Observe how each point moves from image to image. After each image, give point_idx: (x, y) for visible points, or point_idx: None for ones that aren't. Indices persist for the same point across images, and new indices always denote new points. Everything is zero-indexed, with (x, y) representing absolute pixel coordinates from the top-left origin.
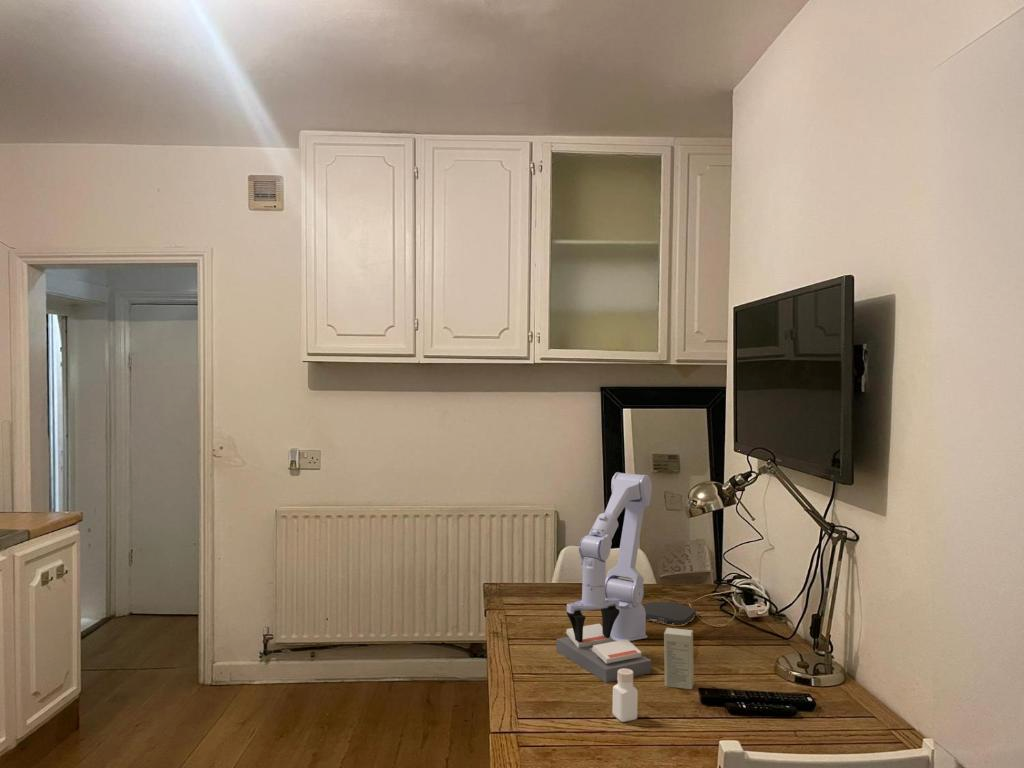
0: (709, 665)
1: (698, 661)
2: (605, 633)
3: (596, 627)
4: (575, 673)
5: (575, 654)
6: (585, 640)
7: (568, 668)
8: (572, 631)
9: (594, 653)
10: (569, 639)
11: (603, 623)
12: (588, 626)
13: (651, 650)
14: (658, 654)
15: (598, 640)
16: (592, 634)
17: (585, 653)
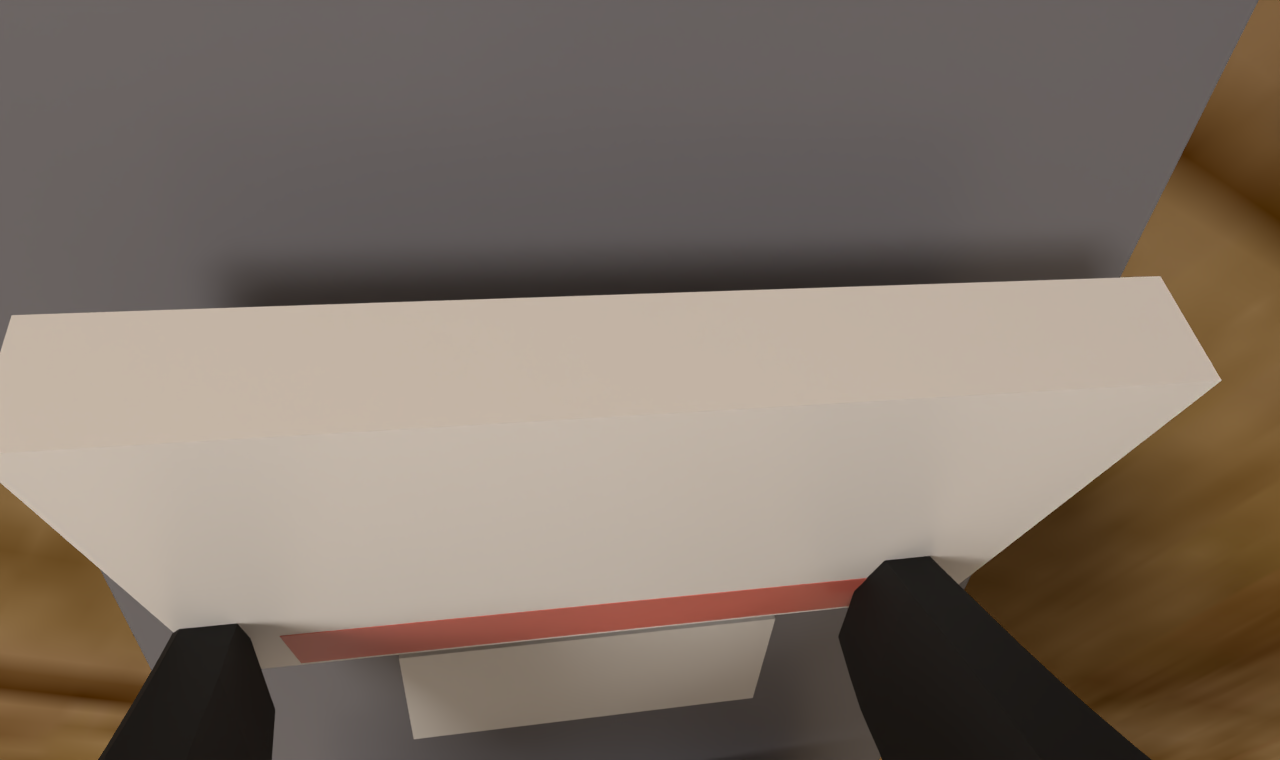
0: (1217, 738)
1: (1248, 690)
2: (877, 649)
3: (972, 460)
4: (75, 685)
5: None
6: (406, 635)
7: (18, 583)
8: (176, 516)
9: (397, 741)
10: (229, 165)
11: (1005, 756)
12: (818, 424)
13: (1276, 453)
14: (1206, 541)
15: (666, 619)
16: (669, 570)
17: None
